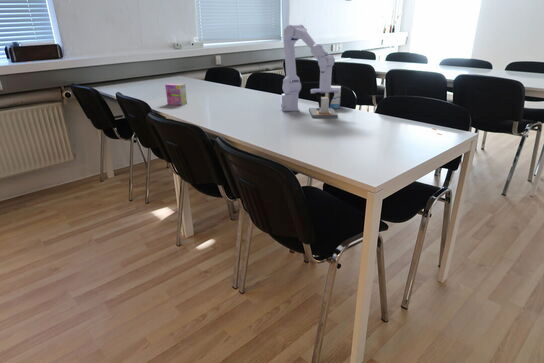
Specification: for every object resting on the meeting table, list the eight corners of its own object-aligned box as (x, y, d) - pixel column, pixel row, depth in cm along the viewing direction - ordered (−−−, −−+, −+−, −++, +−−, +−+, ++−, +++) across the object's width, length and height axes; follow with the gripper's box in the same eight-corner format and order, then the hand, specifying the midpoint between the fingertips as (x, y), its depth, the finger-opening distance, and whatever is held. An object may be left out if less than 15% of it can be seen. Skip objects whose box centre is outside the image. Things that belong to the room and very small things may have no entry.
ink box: (339, 108, 213) (340, 87, 209) (324, 108, 215) (325, 87, 210) (339, 105, 221) (341, 85, 216) (325, 105, 222) (326, 85, 218)
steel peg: (320, 114, 194) (321, 98, 191) (319, 112, 198) (320, 97, 195) (328, 114, 194) (329, 98, 191) (327, 112, 198) (327, 97, 195)
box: (167, 104, 226) (164, 84, 221) (172, 102, 231) (170, 82, 226) (181, 105, 222) (179, 85, 218) (187, 103, 227) (185, 83, 223)
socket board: (312, 117, 192) (312, 114, 192) (308, 110, 209) (308, 107, 208) (337, 117, 192) (337, 114, 192) (332, 110, 209) (332, 107, 208)
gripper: (312, 81, 186) (311, 108, 191) (341, 81, 186) (339, 108, 191) (310, 79, 192) (309, 106, 198) (338, 79, 192) (337, 106, 198)
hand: (324, 107), depth 195 cm, fingers closed on steel peg, 4 cm apart
